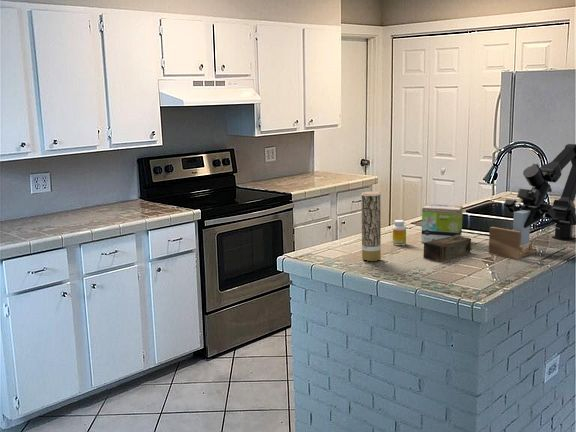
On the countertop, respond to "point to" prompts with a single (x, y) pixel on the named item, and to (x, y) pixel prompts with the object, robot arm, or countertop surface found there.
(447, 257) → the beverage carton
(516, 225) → the grey block
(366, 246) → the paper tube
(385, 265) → the countertop surface
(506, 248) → the wooden knob panel
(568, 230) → the robot arm
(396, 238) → the supplement bottle
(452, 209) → the tea box
